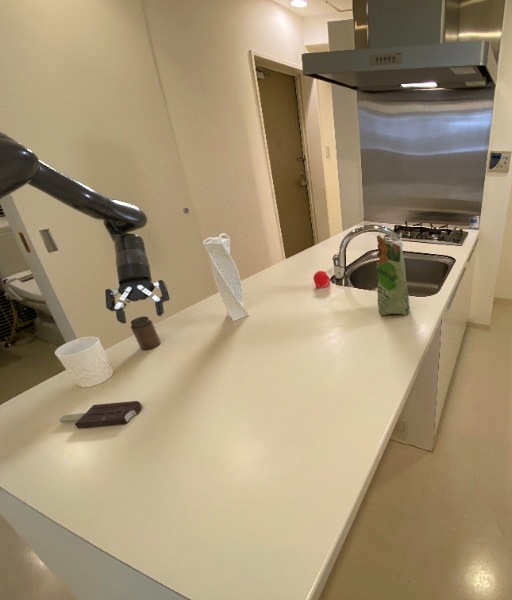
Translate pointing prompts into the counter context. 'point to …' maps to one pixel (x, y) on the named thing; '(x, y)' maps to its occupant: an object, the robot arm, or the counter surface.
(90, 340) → the white cup
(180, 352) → the counter surface
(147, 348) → the pepper mill
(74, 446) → the counter surface
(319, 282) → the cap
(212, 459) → the counter surface
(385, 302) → the pouch
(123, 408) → the ice cream bar
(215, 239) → the skyscraper
